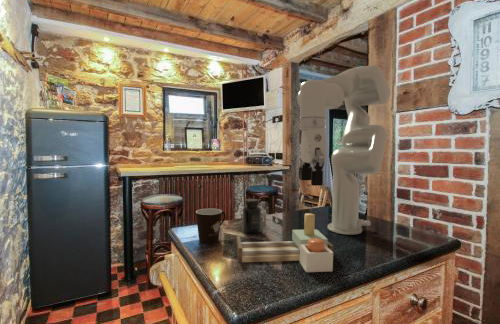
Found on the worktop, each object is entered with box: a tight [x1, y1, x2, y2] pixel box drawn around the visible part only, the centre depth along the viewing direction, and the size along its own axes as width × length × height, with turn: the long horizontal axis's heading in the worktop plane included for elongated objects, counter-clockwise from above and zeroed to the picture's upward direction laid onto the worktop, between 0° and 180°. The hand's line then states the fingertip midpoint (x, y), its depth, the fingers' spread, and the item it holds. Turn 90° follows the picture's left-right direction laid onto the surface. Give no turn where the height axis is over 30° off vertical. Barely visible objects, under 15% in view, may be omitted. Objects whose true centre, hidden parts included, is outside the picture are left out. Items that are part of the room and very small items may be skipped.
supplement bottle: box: [242, 198, 262, 235], centre depth 102 cm, size 7×7×12 cm
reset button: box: [308, 238, 324, 252], centre depth 73 cm, size 4×4×3 cm
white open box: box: [299, 244, 334, 273], centre depth 73 cm, size 7×6×5 cm
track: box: [236, 235, 334, 263], centre depth 82 cm, size 27×10×4 cm, turn 96°
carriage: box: [291, 212, 329, 249], centre depth 82 cm, size 8×9×9 cm
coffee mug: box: [195, 207, 226, 245], centre depth 92 cm, size 12×9×10 cm
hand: (311, 182), depth 81 cm, fingers open, 9 cm apart
